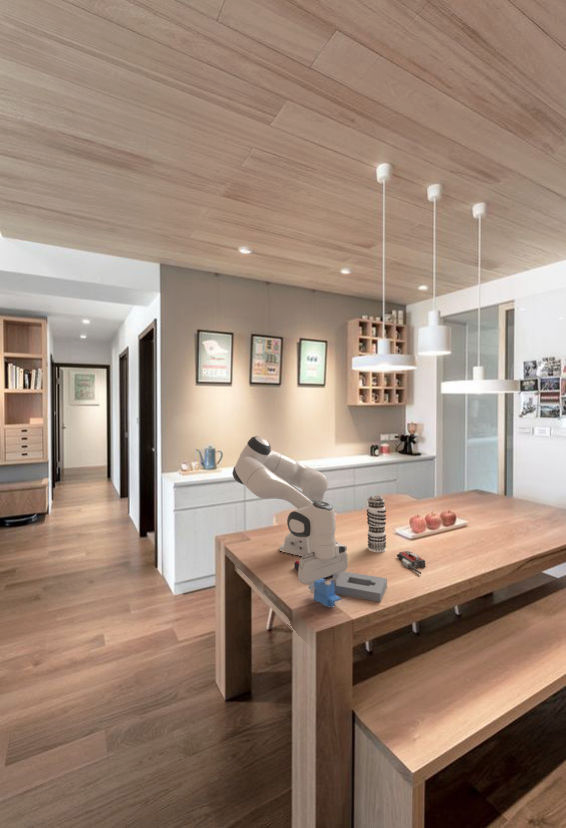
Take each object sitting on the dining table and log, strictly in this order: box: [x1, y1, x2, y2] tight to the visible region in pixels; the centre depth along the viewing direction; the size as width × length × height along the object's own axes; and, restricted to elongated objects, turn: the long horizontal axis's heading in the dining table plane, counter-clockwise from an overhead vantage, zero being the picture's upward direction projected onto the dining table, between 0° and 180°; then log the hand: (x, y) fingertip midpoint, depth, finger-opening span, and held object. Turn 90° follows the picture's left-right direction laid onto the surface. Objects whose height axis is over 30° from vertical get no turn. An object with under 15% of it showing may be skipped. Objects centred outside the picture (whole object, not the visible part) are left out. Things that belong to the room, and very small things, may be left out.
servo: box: [308, 578, 342, 608], centre depth 136 cm, size 13×4×8 cm, turn 35°
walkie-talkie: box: [396, 550, 426, 575], centre depth 166 cm, size 9×4×20 cm
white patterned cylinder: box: [366, 495, 387, 553], centre depth 186 cm, size 9×9×25 cm
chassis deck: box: [335, 571, 388, 603], centre depth 145 cm, size 18×13×3 cm
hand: (323, 588), depth 136 cm, fingers open, 8 cm apart
